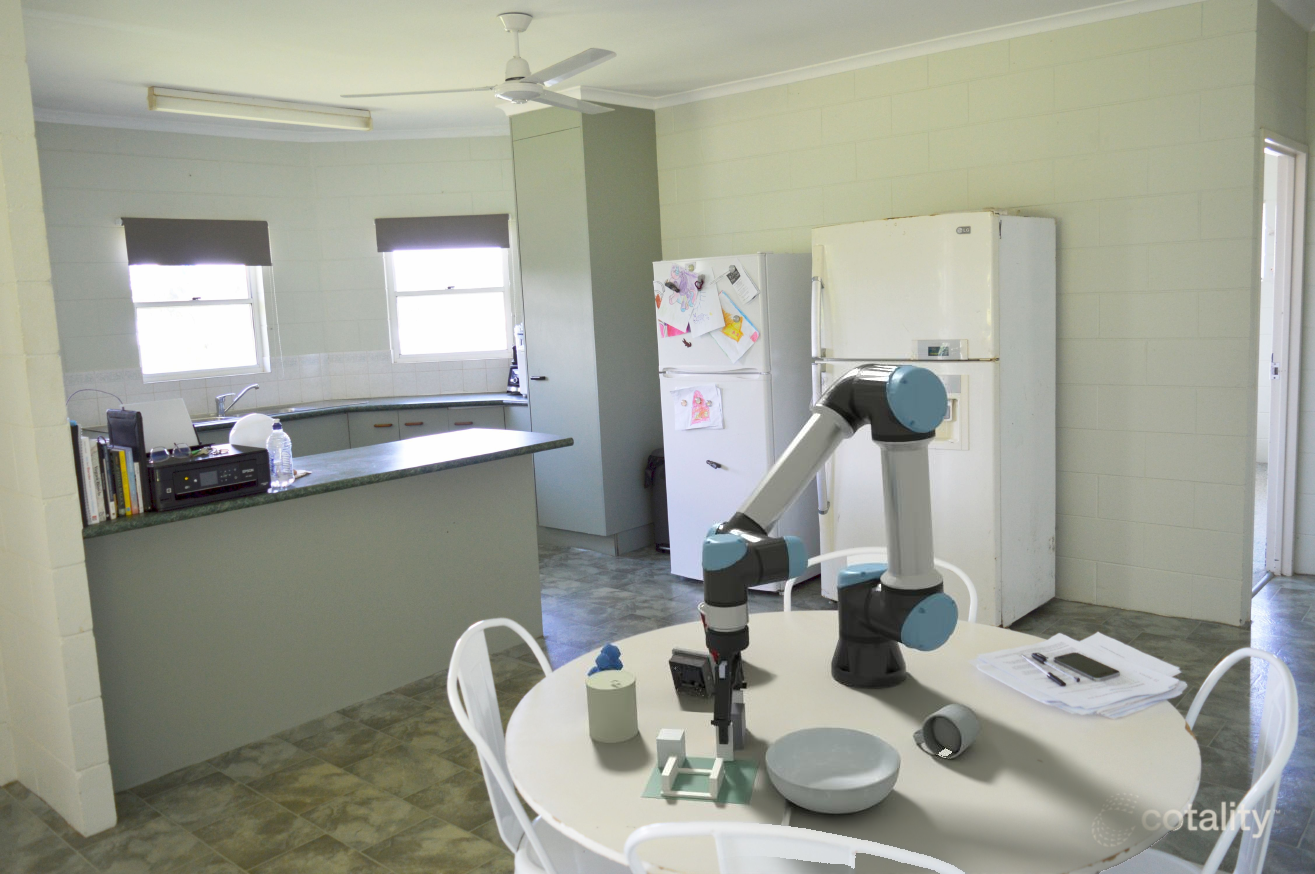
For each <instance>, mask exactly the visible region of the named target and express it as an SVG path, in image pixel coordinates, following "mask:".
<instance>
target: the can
mask: <svg viewBox="0 0 1315 874" xmlns="http://www.w3.org/2000/svg"><path fill="white" fill-rule="evenodd" d="M636 679H637V677H636V675H635V674H633V673H632V672H630V671H628V670H627V671H626V670H622V669H621V670H607V671H601V672H598V673H595V674H592V675H591V676H589V677H588V676H587V678H586V679H585V687H586V697H587V698H586V699H587V712H588V713H587V714H588V717H587V718H588V732H589V737H590V739H592V740H594V741H596V742H599V743H604V744H605V743H606V744H615V743H616V744H617V743H624V742H626V741H629V740H631V739H633V738H634V737H636V736H637V734H638V732H639V722H638V707H637V705H638V704H637V687H636V686H637V685H636Z"/></svg>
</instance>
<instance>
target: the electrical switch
mask: <svg viewBox="0 0 1315 874" xmlns="http://www.w3.org/2000/svg"><path fill="white" fill-rule="evenodd" d="M668 665H669V668H670V669H669V670H670V674H671V678H672V682H673V685H674V690H675V692H677V693H680V694H681V693H682V694H687V695H691V696H695V697H700V698H705V699H708V698H710V696H711V695H712V694H713V693H715V670H714V667H715V662H714V657H713V655H712V654H711V653H709V652H705V651H701V650H700V651H699V650H695V649H689V648H684V647H678V646H675V647H673V648H672V649H671V657H670V659H669V660H668ZM695 689H696V690H695Z"/></svg>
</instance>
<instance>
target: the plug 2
mask: <svg viewBox="0 0 1315 874" xmlns="http://www.w3.org/2000/svg"><path fill="white" fill-rule="evenodd" d="M731 722H732V729H733V750H739V751H740V750H741V751H744V747H745V743H746V742H747V741H746V740H747V723H746V722H747V721H746V702H744V703H732V710H731Z"/></svg>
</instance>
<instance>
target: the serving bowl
mask: <svg viewBox="0 0 1315 874" xmlns="http://www.w3.org/2000/svg"><path fill="white" fill-rule="evenodd" d="M764 759H765V760H764V761H765V765H766V770H767V774H768V775H769V779H770V781H771V783H772V785H773V787H775V789H776V790H777V791H778V792H779V793H780V794H781V795H782V796H783V797H784V798H785V799H786V800H788V801H789V802H791V803H792V804H795V805H796V806H798V807H800V808H803V809H805V810H809V811H813V812H816V813H821V814H822V813H823V814H850V813H855V812H860V811H863V810H867V809H869V808H871V807H873V806H876V805H877V804H879V803H880V802H882V801H883V800H884V799H885V798H886V797H887V796H888V795H889V794H890V793H891V791H892V790H893V789H894V787H895V786H896V784H897V782H898V781H897V780H898V779H899V778H898V777H899V774H900V770H901V761H902V760H901V755H900V754H899V751H898V750H897V749H896V747H895V746H894V745H892V743H890V742H889V741H888V740H886V739H884V738H882V737H881V736H879V735H876V734H874V733H871V732H868V731H865V730H861V729H857V728H850V727H843V726H842V727H840V726H819V727H807V728H803V729H798V730H795V731H792V732H789V733H787V734H784V735H783V736H781V737H779V738H778V739H776V740H774V741H773V742H772V743H771V744H770V745H769V746H768V748H767V750H766V752H765V755H764Z"/></svg>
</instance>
